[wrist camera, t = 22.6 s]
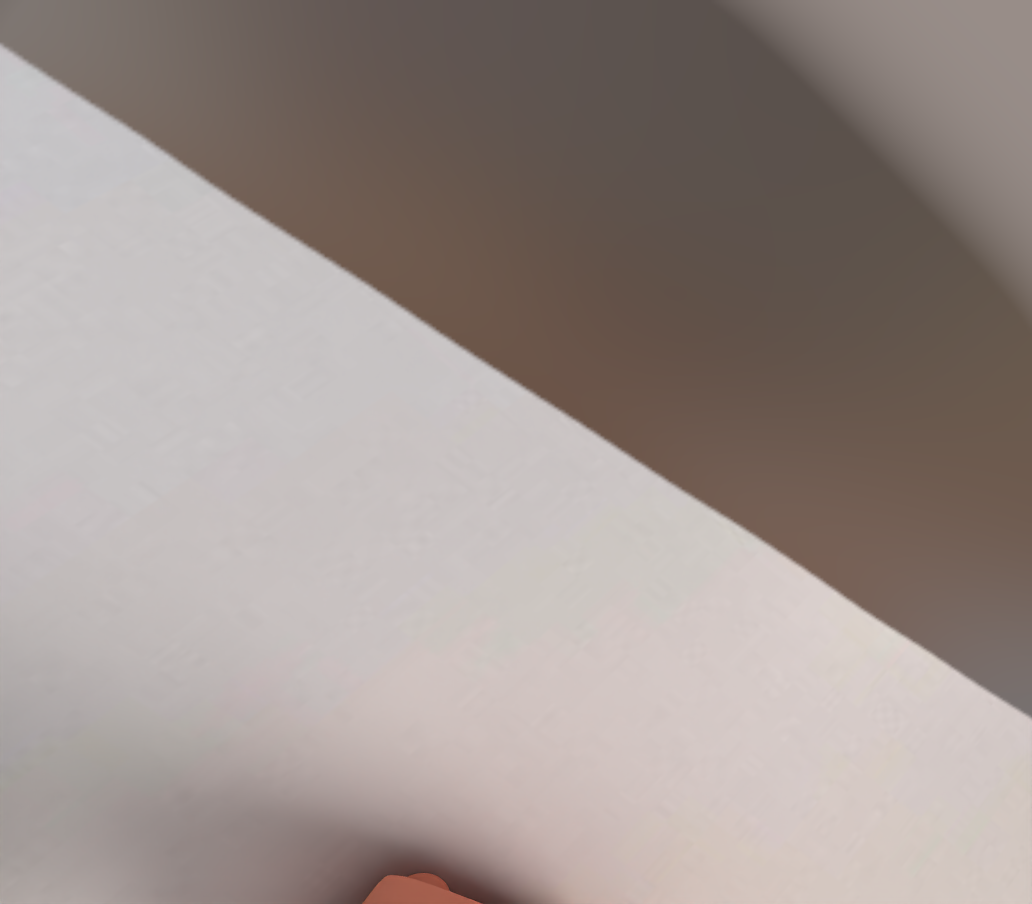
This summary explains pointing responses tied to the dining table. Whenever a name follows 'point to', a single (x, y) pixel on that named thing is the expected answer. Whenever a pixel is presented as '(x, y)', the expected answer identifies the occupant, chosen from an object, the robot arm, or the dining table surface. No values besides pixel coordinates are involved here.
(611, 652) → the dining table surface
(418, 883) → the teapot
